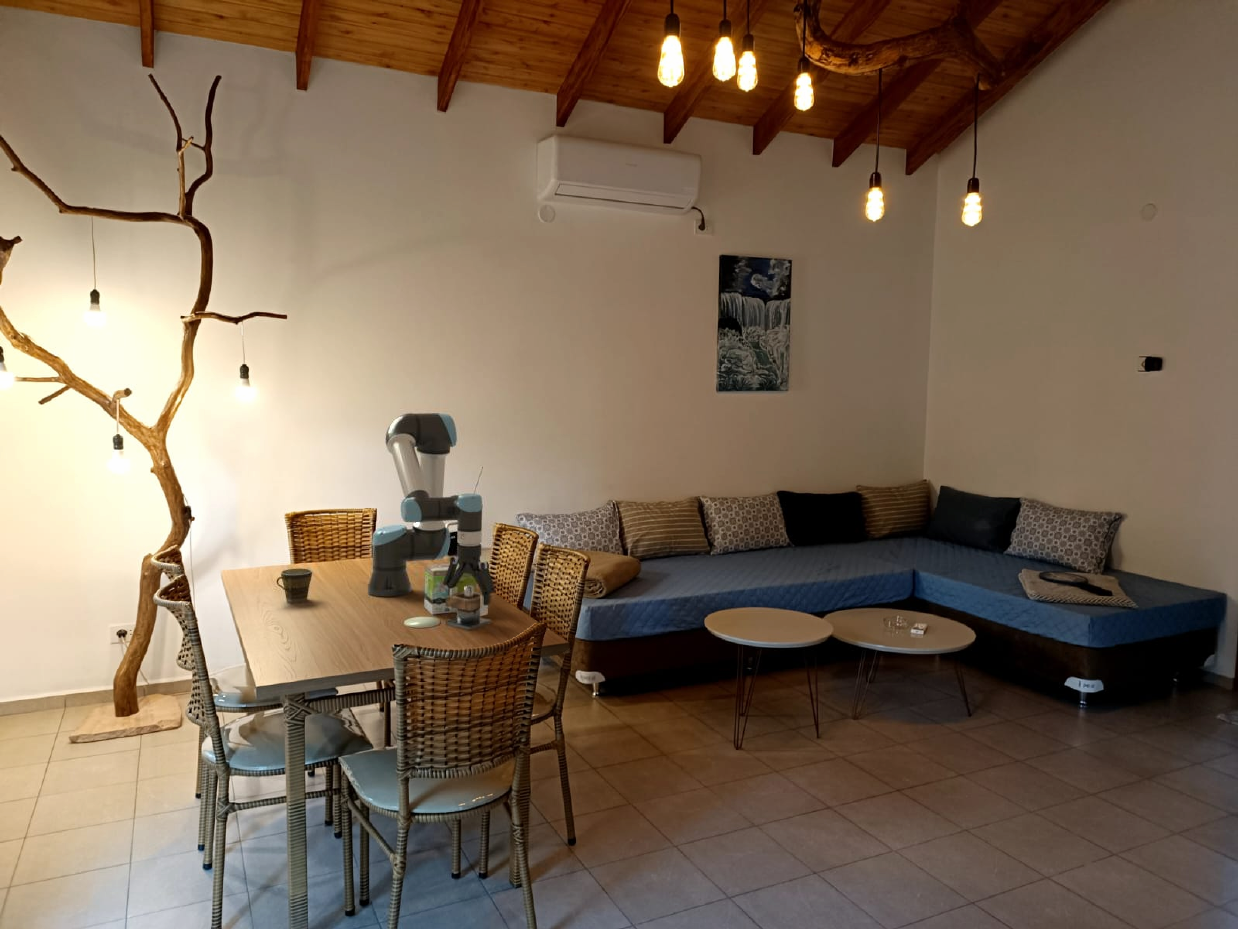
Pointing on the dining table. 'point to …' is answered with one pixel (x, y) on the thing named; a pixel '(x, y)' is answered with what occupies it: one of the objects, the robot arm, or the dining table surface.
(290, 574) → the ceramic cup
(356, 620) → the dining table surface
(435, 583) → the tea box
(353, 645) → the dining table surface
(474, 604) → the walnut link
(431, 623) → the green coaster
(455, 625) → the peg stand
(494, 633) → the dining table surface
